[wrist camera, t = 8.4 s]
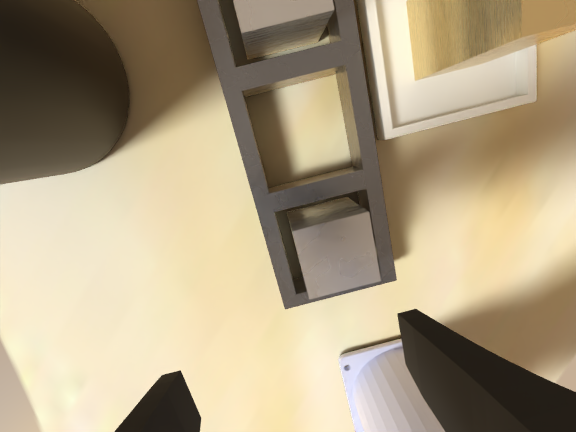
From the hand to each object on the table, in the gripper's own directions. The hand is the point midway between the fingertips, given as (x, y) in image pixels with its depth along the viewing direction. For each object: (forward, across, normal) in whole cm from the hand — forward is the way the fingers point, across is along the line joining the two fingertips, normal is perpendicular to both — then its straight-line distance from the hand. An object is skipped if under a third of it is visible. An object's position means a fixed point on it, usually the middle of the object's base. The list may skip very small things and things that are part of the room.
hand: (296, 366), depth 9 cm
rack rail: (+10, -3, -7) cm, 12 cm away
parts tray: (+10, -12, -10) cm, 18 cm away
